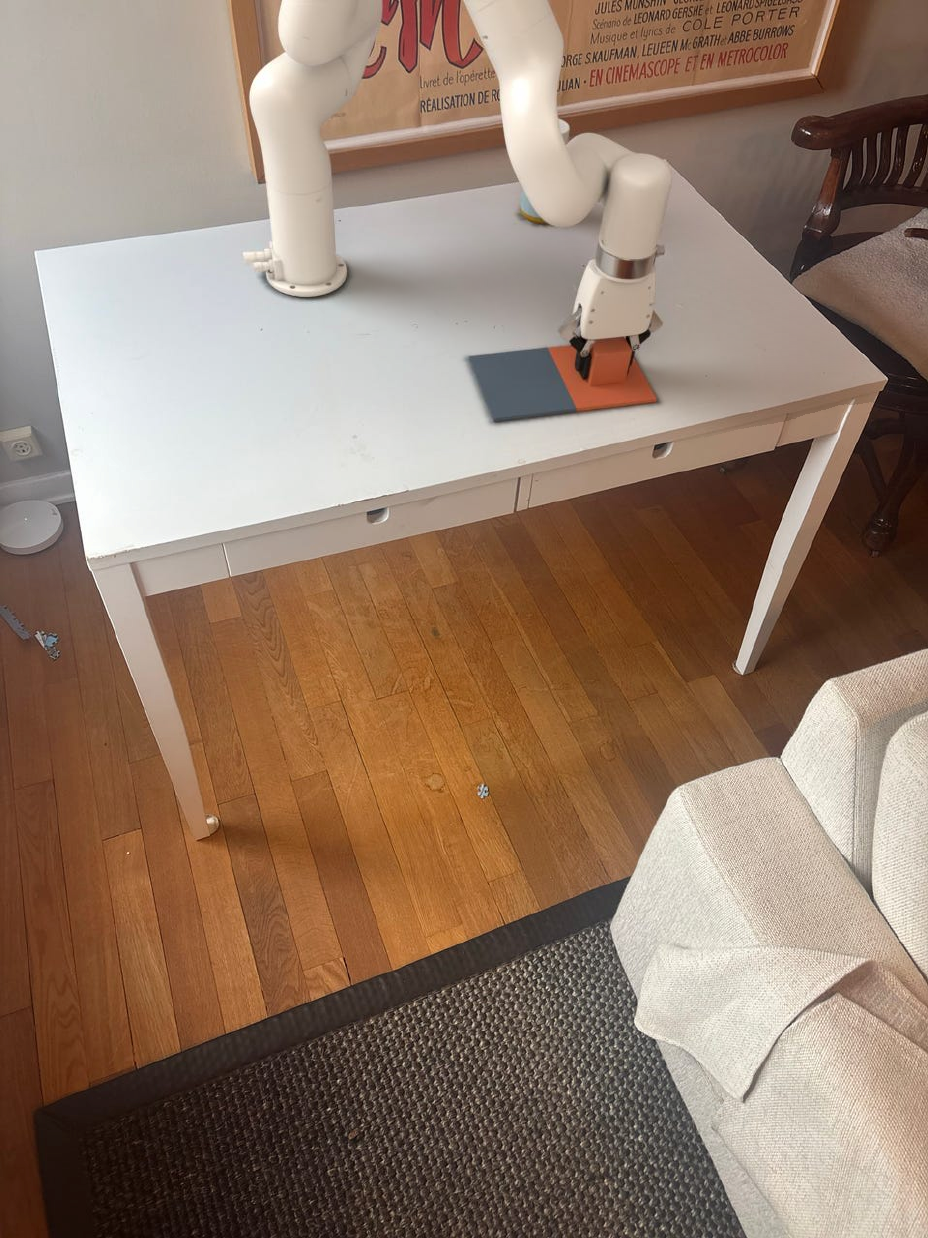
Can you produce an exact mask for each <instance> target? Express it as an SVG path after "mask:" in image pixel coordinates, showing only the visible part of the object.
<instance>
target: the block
mask: <svg viewBox="0 0 928 1238" xmlns="http://www.w3.org/2000/svg"><path fill="white" fill-rule="evenodd" d="M589 353H590V355H591V364H590V369H589V374H588V378H587V381H588V383H589V385H590V386H595V385H603V384H612V383H620V382H625V380H626V376H627V371H628V367H629V363H630V358H631V354H632V350H631V348H630V346H629V344H628V342H627V341H626V338H625V336H622V337H613V338H604V339H596V341H595V343H594V345H593V347H592V348H591V350H590V352H589Z"/></svg>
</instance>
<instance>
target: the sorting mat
mask: <svg viewBox="0 0 928 1238" xmlns="http://www.w3.org/2000/svg"><path fill="white" fill-rule="evenodd" d="M576 353H577V350H576V349H575V348H574V347H572V346H571V344H567V345H559V346H549V347H539V348H531V349H523V350H522V349H521V350H512V351H502V352H494V353H485V354H475V355H469V356H468V361H469V364H470V366H471V369H472V371H473V374H474V376H475V378H476V382H477V383H478V386H479V389H480V391H481V393H482V396H483V399H484V401H485V404H486V406H487V409H488V411H489V415H490V416H491V419H492V421H493V423H497V422H504V421H512V420H520V419H528V418H529V419H530V418H535V417H544V416H553V415H560V414H568V413H576V412H585V411H593V410H602V409H608V408H609V409H610V408H617V407H624V406H625V407H626V406H632V405H642V404H650V403H656V402H657V399H658V398H657V396H656V395H655V393H654V391H653V389H652V387H651V386H650V384H649V382H648V380H647V378H646V377H645V375H644V373H643V371H642V370H641V368H640V366H639V364H638V362H637V361H636V359H635V357H634V358H633V362H632V365H630V368H629V372H628V374H627V376H626V380H625V382H620V383H612V384H603V385H595V386H590V385H589V383H588V381H587V379H584V380H583V379H582V377H581V375H580V373H579V371H578V372H577V371H576V369H575V358H576Z"/></svg>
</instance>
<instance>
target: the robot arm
mask: <svg viewBox="0 0 928 1238" xmlns="http://www.w3.org/2000/svg"><path fill="white" fill-rule="evenodd" d="M462 1H463V4H464V6H465V8H466V9H467V10H466V11H467V13H468V15H469V17H470V19H471V21H472V23H473V25H474V28H475V30H476V32H477V35H478V37H479V39H480V41H481V43H482V46H483V47H484V49H485V52H486V54H487V57H488V58H489V61H490V63H491V65H492V67H493V69H494V71H495V74H496V77H497V80H498V88H499V107H500V114H501V120H502V121H501V122H502V131H503V137H504V141H505V146H506V151H507V155H508V157H509V161H510V163H511V166H512V169H513V171H514V173H515V175H516V177H517V180H518V181H519V184H520V186H521V189H522V188H523V190H524V192H525V194H526V196H527V198H528V200H529V202H530V204H531V205H532V207H533V208H534V210H535V211H536V212H537V214H538V215H539V216H540V217H541V218H542V219H543V220H544V221H546V222H547V223H546V224H548V225H551V226H553V227H555V228H563V229H565V228H570V227H573V226H575V225H577V224H579V223H581V222H582V221H583V220H584V219H585V218H587V216H588V215H589V214H590V213H591V212H592V210H593V209H594V208H595V206H596V205H597V204H598V203H602V204H603V206H604V207H603V213H602V218H601V224H600V229H599V235H598V242H597V246H596V252H595V258H592V259H589V261H588V263H587V264H586V267H585V268H584V271H583V274H582V277H581V280H580V283H579V285H578V290H577V294H576V297H575V301H574V305H573V310H572V314H571V316H570V317H568V319H567V320H566V321H564V322H563V324H561V325H560V326H559V328H557V332H558V334H559V336H560V337H561V339H563V340H564V341H566V342H567V343H568V344H569V345H571V346H572V347H574V348H575V349H576V350H577V353H576V358H575V369H576V371H577V372H578V371H579V373H580V375H581V377H582V379H583V380H584V379H587V378H588V374H589V369H590V364H591V355H590V353H589V352H590V350H591V348H592V347H593V345H594V343H595V341H596V339H604V338H613V337H622V336H624V337H625V339H626V341H627V342H628V344H629V346H630V348H631V350H632V354H631V358H630V363H629V367H628V371H627V374H628V372H629V368H630V365H632V362H633V358H634V359H635V353H636V351H639V349H640V347H641V345H642V344H643V343H644V342H645V341H646V340H648V339H649V338H650V336H651V335H652V334H653V333H655V332H657V330H659V329H660V328H661V327H662V326H663V325H664V322H663V320H662V319H661V317H660V316H659V314H658V313H657V312H656V311H655V310H654V307H655V306H654V305H655V300H656V289H657V266H656V265H655V264H656V259H657V258H658V257H662V256H664V255H665V253H666V247H665V245H664V244H659V241H660V238H661V237H660V236H661V232H662V228H663V224H664V218H665V214H666V211H667V205H668V201H669V196H670V193H671V188H672V183H673V173H672V169H671V167H670V165H669V164H668V163H667V162H666V161H665V160H663V159H662V158H660V157H659V156H656V155H653V154H651V153H642V152H635V151H632V150H630V149H628V148H626V147H624V146H622V145H621V144H619V143H617V142H616V141H614V140H611V139H610V138H608V137H605V136H604V135H601V134H599V133H594V132H584V133H583V132H582V133H580V134H578V135H576V136H574V137H573V138H572V139H570V140H568V142H567V145H565V142H564V139H563V137H562V133H561V130H560V125H559V120H558V119H559V115H558V114H559V113H558V88H559V82H560V76H561V71H562V66H563V59H564V48H565V41H564V36H563V33H562V31H561V29H560V27H559V25H558V22H557V20H556V17H555V14H554V12H553V10H552V7H551V5H550V2H549V0H462ZM383 7H384V6H383V0H281V3H280V7H279V12H278V21H277V22H278V23H277V31H278V37H279V41H280V44H281V47H282V48H283V50H284V52H283V53H281V54H280V55H279V56H277V57H275V58H273V59H272V60H271V61H269V62H268V63H266V65H264V66H263V67H262V68H261V69H260V70H259V71H258V73H257V74H256V75H255V77H254V79H252V80H253V81H252V83H251V86H250V89H249V108H250V112H251V116H252V120H253V122H254V126H255V129H256V131H257V136H258V140H259V145H260V150H261V156H262V163H263V164H262V165H263V171H264V180H265V186H266V188H265V189H266V196H267V205H268V214H269V224H270V233H271V240H270V241H268V245H269V247H268V248H263V250H261V251H259V250H258V251H254V250H253V251H243V252H242V254H243V255H242V256H243V261H244V266H253V271H254V273H259V272H265V277H266V280H267V282H268V283H269V285H270V286H271V287H273V288H274V289H275V290H277V291H278V292H280V293H283V294H285V295H289V296H293V297H299V298H300V297H301V298H313V297H319V296H325V295H327V294H330V293H332V292H334V291H336V290H337V289H339V288H340V287H342V285H343V284H344V283H345V282H346V280H347V277H348V276H347V275H348V268H347V267H348V266H347V264H346V261H345V260H344V259H343V258H342V257H341V256H340V255H339V254H338V253H337V249H336V248H337V247H336V229H335V227H336V226H335V213H334V212H335V210H334V209H335V208H334V190H333V176H332V174H333V173H332V162H331V156H330V153H329V150H328V148H327V146H326V144H325V142H324V140H323V138H322V132H321V129H322V126H323V124H324V123H326V122H327V121H328V120H329V119H330V118H332V116H334V115H335V114H336V113H338V112H339V111H340V110H342V109H343V108H345V107H346V106H347V104H349V103H350V102H351V100H352V99H353V98H354V96H355V95H356V93H357V91H358V90H359V89H358V88H359V86H360V84H361V81H362V80H363V79H362V78H363V77H364V73H365V70H366V68H367V65H368V62H369V59H370V56H371V54H372V50H373V47H374V45H375V42H376V39H377V37H378V34H379V30H380V27H381V24H382V19H383ZM577 328H579V333H578V334H577V333H575V332H574V331H575V330H577Z"/></svg>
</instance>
